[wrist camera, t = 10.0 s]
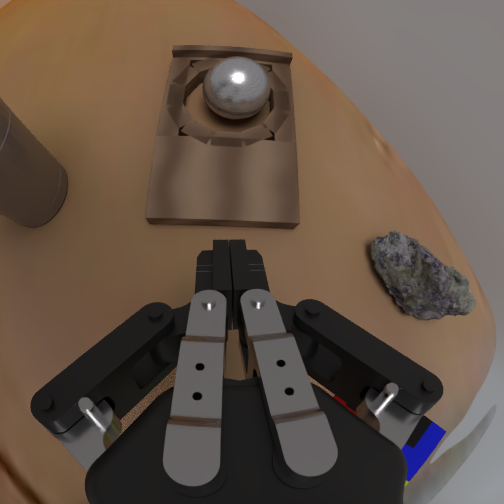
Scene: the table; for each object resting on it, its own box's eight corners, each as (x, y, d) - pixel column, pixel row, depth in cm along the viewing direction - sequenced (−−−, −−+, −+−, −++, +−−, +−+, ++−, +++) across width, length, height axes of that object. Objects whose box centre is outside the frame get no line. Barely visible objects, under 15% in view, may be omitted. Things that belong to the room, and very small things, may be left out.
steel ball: (217, 37, 28) (217, 76, 36) (189, 84, 27) (194, 121, 35) (283, 54, 29) (272, 91, 36) (263, 104, 28) (255, 138, 36)
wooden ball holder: (150, 223, 32) (142, 213, 28) (175, 64, 36) (173, 45, 32) (293, 228, 34) (303, 219, 30) (285, 71, 38) (291, 53, 34)
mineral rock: (359, 244, 35) (406, 223, 25) (418, 220, 37) (467, 198, 27) (391, 341, 33) (444, 349, 24) (446, 306, 35) (498, 303, 26)
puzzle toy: (398, 409, 32) (446, 431, 22) (352, 468, 30) (388, 504, 20) (350, 374, 32) (397, 394, 22) (298, 439, 30) (327, 480, 20)
